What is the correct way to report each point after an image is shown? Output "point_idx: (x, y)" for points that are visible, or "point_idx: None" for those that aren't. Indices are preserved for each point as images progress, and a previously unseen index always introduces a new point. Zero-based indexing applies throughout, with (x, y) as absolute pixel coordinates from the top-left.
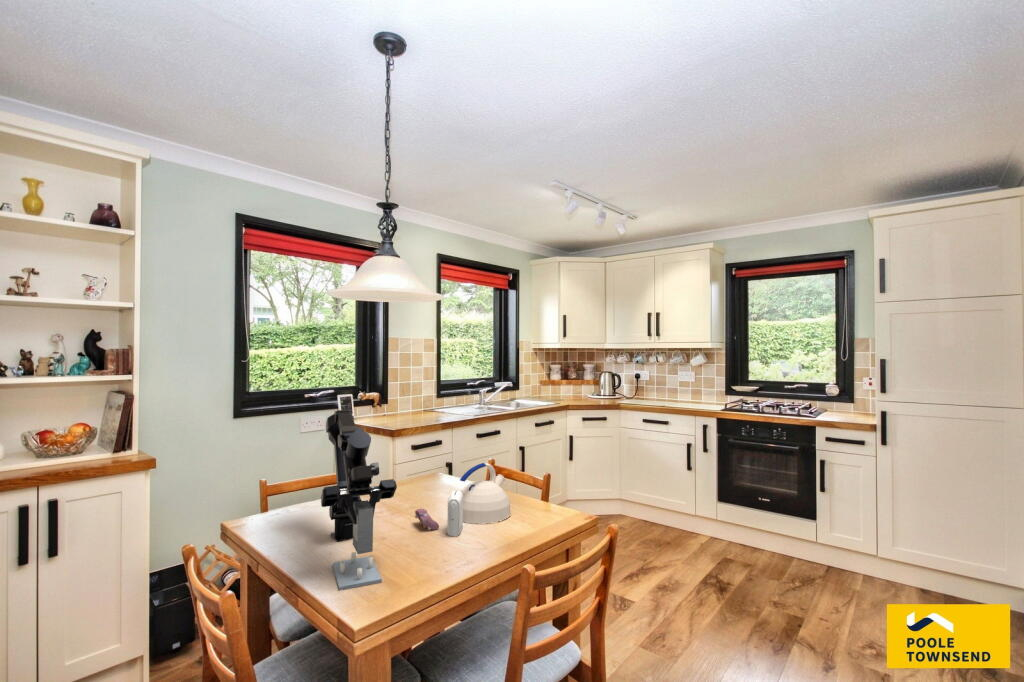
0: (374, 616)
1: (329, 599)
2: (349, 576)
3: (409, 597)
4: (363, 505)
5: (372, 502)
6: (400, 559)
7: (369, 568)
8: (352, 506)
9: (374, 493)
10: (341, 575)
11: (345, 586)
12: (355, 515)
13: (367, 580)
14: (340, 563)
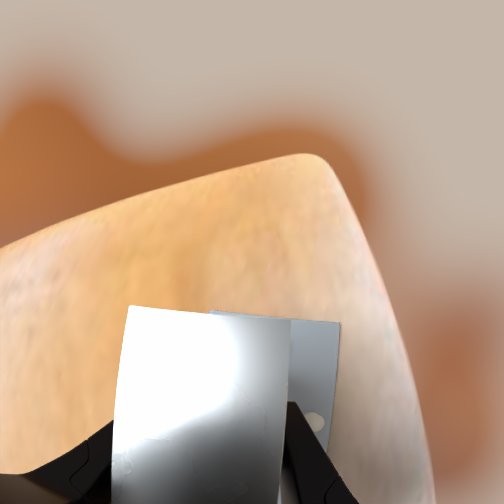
0: (282, 166)
1: (366, 286)
2: (295, 381)
3: (185, 200)
4: (193, 454)
5: (84, 473)
6: None
7: None
8: (312, 501)
9: (8, 498)
10: (317, 401)
11: (321, 321)
12: (286, 436)
13: None
14: (323, 421)
